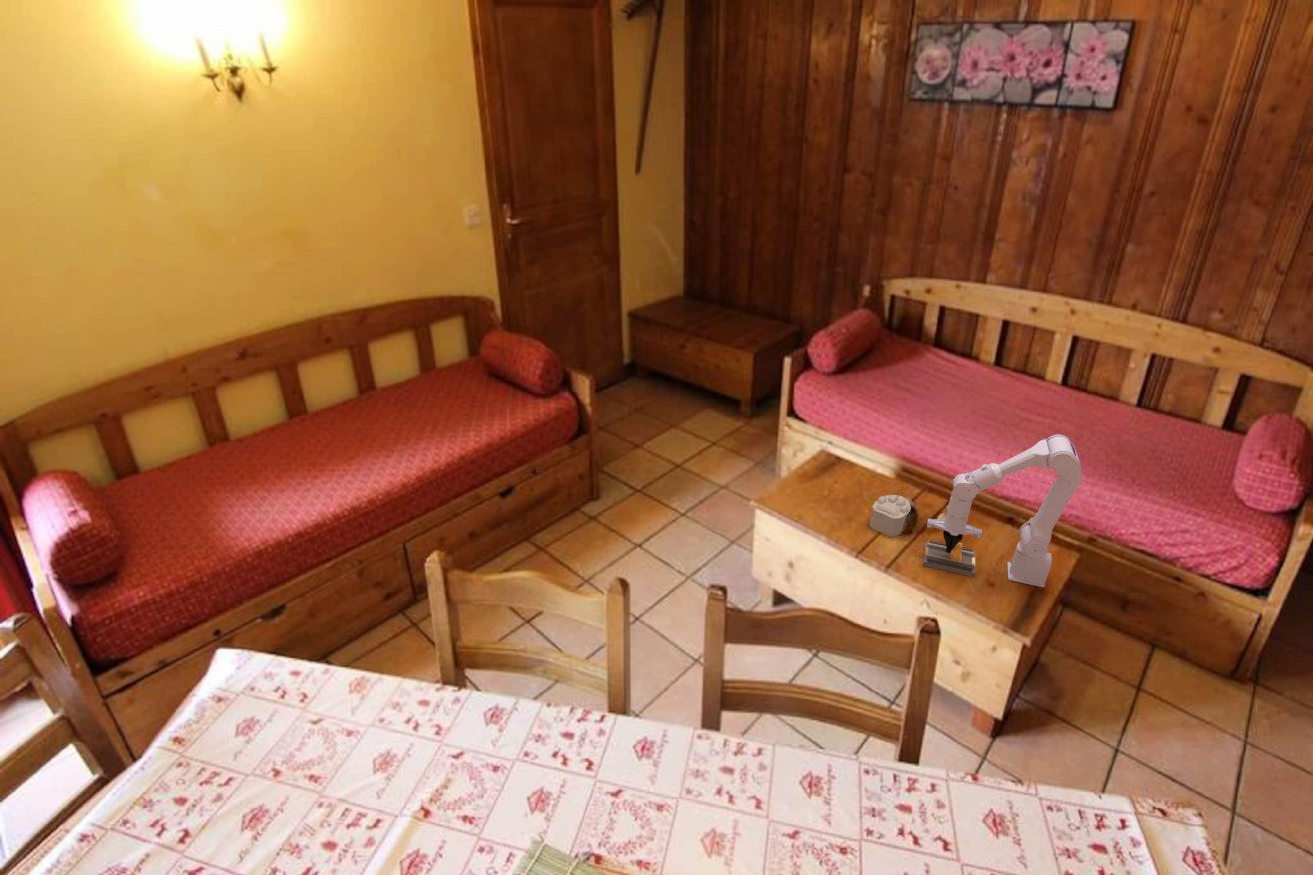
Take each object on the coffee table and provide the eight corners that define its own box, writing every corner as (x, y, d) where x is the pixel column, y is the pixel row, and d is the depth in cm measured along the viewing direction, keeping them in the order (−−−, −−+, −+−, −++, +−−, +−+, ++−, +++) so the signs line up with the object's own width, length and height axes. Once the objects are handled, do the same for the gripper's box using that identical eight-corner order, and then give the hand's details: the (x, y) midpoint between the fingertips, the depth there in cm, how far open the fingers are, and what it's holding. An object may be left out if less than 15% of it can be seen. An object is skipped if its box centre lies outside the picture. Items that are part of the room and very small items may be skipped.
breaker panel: (974, 556, 215) (976, 549, 213) (974, 577, 207) (976, 569, 205) (925, 545, 219) (926, 538, 218) (923, 565, 211) (924, 558, 210)
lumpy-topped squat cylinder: (865, 526, 228) (869, 503, 224) (883, 508, 236) (887, 486, 232) (896, 539, 222) (900, 516, 218) (913, 520, 231) (918, 498, 226)
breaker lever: (961, 554, 213) (964, 543, 211) (960, 563, 210) (963, 551, 207) (950, 552, 214) (953, 540, 212) (949, 561, 210) (952, 549, 208)
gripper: (930, 515, 204) (921, 553, 211) (985, 526, 199) (974, 564, 206) (931, 502, 209) (923, 539, 216) (985, 512, 205) (974, 550, 212)
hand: (948, 550), depth 211 cm, fingers closed
